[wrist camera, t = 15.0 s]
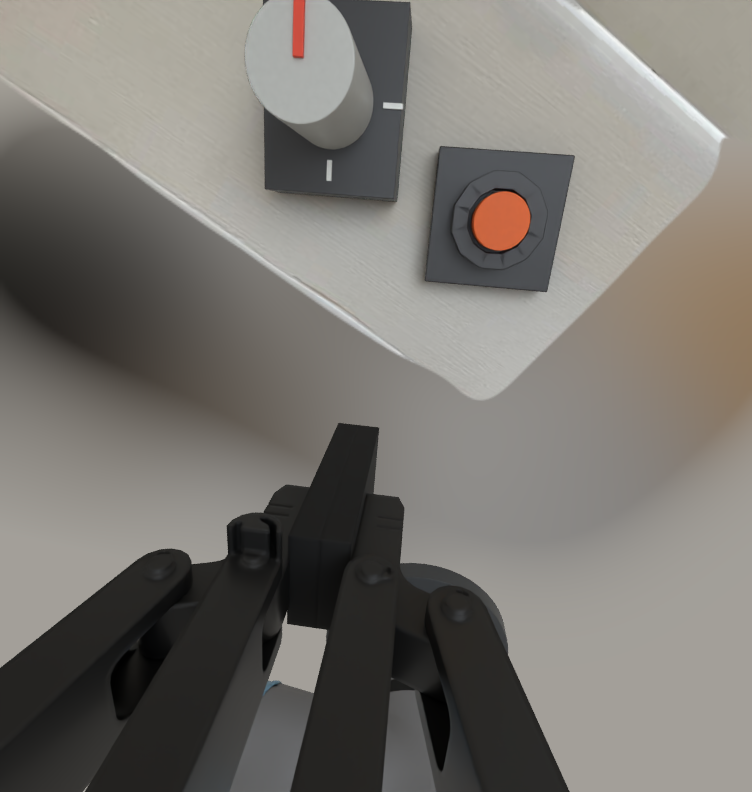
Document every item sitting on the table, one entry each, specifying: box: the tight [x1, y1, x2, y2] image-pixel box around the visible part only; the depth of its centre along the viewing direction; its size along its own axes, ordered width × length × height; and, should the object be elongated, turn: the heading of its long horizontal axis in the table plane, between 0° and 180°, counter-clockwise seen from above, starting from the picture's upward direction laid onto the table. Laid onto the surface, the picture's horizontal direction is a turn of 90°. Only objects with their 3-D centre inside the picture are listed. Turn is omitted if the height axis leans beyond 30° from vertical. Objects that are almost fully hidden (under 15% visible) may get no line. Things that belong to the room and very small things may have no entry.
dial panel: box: [263, 0, 412, 202], centre depth 34 cm, size 12×10×4 cm
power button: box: [471, 191, 530, 251], centre depth 34 cm, size 4×4×2 cm
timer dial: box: [245, 0, 373, 149], centre depth 28 cm, size 6×6×9 cm
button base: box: [425, 146, 575, 292], centre depth 36 cm, size 10×10×4 cm
